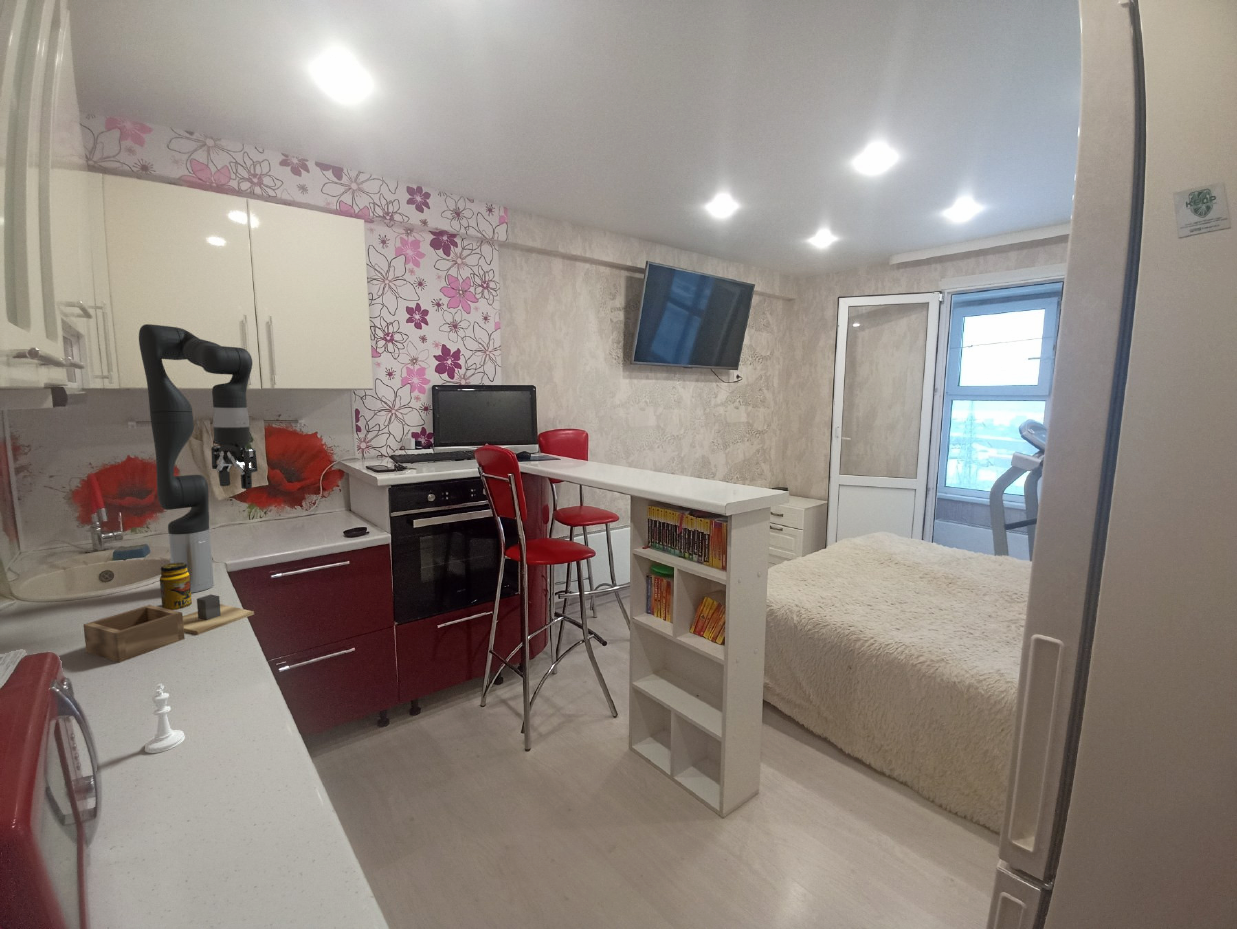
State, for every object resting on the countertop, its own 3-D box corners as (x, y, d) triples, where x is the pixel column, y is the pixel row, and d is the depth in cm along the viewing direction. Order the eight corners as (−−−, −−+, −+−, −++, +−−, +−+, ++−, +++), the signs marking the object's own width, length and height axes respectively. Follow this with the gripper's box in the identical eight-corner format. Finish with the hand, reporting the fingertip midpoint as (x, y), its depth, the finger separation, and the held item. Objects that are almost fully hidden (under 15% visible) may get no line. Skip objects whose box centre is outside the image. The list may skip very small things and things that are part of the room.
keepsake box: (86, 655, 114) (83, 624, 113) (152, 633, 125) (149, 604, 124) (120, 666, 110) (116, 633, 109) (184, 642, 121) (182, 612, 120)
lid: (163, 629, 128) (160, 602, 127) (220, 610, 140) (218, 585, 139) (198, 639, 123) (196, 610, 122) (254, 618, 135) (252, 592, 134)
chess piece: (139, 756, 82) (132, 695, 81) (152, 737, 87) (146, 680, 86) (178, 748, 84) (173, 689, 83) (189, 730, 89) (184, 674, 87)
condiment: (192, 610, 139) (188, 566, 138) (149, 617, 134) (145, 571, 133) (195, 601, 145) (191, 559, 144) (154, 608, 140) (150, 564, 139)
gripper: (264, 425, 138) (268, 487, 140) (228, 423, 143) (232, 483, 145) (234, 427, 131) (239, 491, 133) (198, 424, 136) (202, 487, 138)
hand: (235, 487), depth 139 cm, fingers open, 8 cm apart
